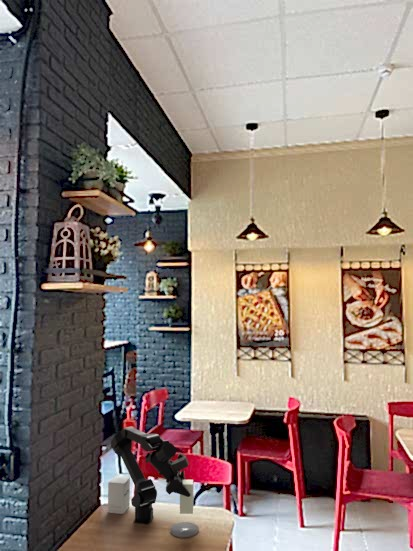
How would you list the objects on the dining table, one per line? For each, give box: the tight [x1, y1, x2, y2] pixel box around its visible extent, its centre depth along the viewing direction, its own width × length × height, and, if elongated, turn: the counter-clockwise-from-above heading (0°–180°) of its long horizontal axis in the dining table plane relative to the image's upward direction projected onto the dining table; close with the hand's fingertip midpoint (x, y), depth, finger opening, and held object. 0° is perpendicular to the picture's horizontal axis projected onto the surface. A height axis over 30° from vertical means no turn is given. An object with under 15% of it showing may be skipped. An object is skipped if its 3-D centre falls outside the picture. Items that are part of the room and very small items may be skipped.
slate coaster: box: [169, 521, 200, 539], centre depth 175 cm, size 11×11×1 cm
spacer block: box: [179, 479, 194, 515], centre depth 177 cm, size 5×5×11 cm
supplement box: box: [107, 476, 131, 515], centre depth 193 cm, size 7×7×13 cm
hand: (190, 493), depth 177 cm, fingers closed on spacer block, 5 cm apart
